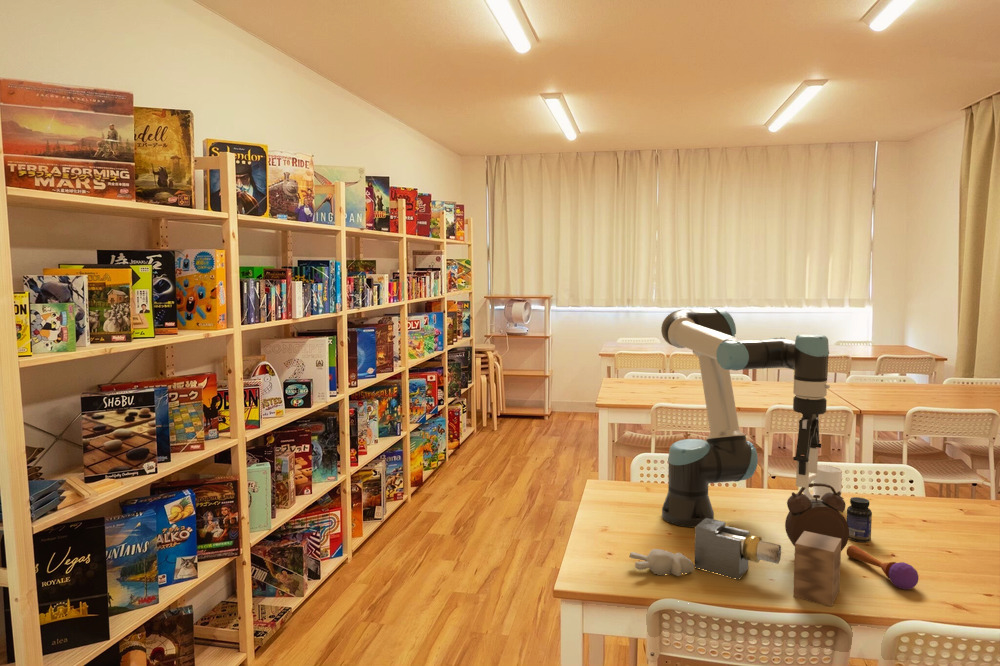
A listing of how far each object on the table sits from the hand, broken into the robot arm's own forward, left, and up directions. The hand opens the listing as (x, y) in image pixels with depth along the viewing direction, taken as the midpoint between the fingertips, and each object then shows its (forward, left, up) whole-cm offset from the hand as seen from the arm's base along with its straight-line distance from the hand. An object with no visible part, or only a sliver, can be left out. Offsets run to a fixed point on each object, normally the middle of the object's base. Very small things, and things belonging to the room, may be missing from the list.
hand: (806, 479), depth 167 cm
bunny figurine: (-27, -26, -22) cm, 44 cm away
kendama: (+17, +4, -22) cm, 28 cm away
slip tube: (-12, -16, -18) cm, 26 cm away
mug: (-5, +47, -22) cm, 53 cm away
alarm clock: (+2, +4, -22) cm, 23 cm away
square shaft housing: (-16, -16, -22) cm, 31 cm away
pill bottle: (+9, +25, -22) cm, 35 cm away
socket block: (+6, -16, -22) cm, 28 cm away
